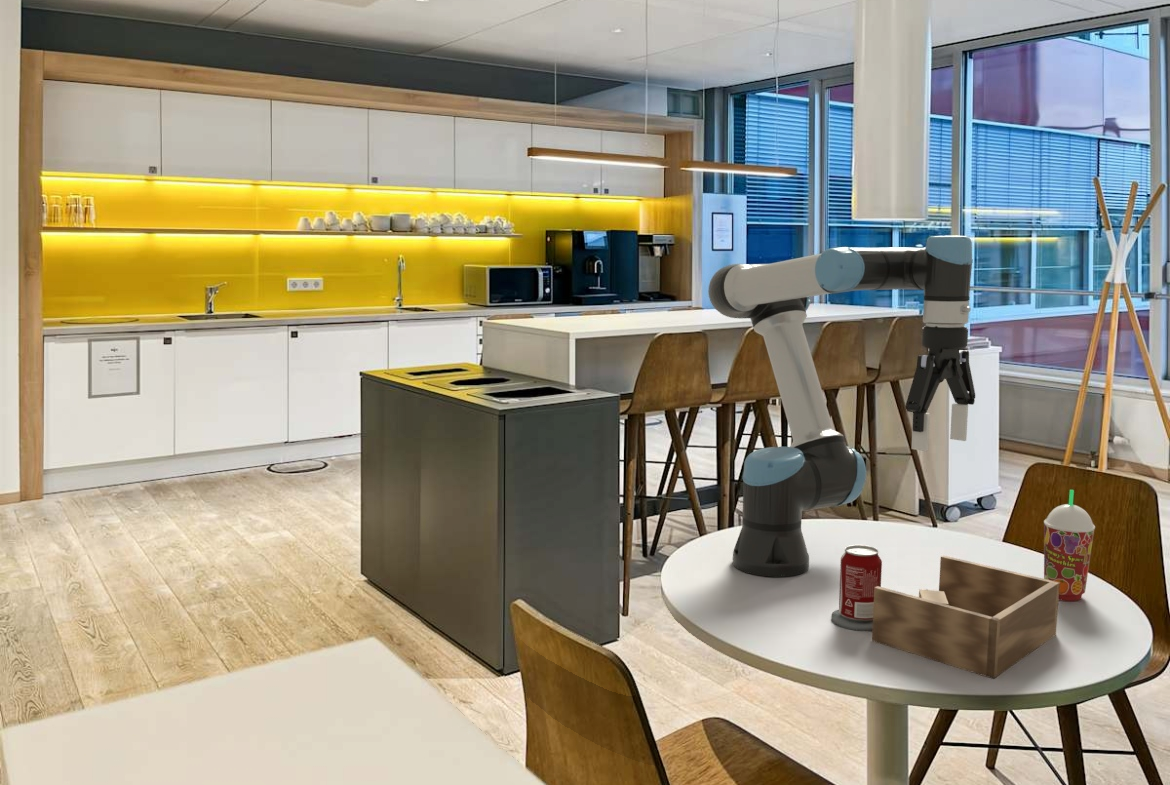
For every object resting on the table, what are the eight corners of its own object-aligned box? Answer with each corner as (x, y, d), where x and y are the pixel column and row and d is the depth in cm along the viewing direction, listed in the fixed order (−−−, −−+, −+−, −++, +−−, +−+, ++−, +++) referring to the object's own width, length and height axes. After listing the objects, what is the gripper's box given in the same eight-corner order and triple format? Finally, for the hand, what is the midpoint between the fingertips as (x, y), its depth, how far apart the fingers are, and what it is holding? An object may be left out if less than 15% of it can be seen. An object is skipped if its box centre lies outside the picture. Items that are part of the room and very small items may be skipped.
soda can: (881, 625, 165) (884, 556, 163) (840, 623, 166) (842, 554, 164) (877, 611, 171) (880, 544, 170) (837, 609, 173) (839, 542, 171)
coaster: (821, 620, 169) (821, 617, 169) (849, 607, 175) (849, 604, 175) (868, 635, 162) (868, 631, 162) (895, 621, 169) (895, 617, 168)
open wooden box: (872, 640, 160) (874, 587, 159) (940, 603, 177) (943, 555, 175) (993, 678, 146) (997, 620, 145) (1055, 634, 163) (1059, 582, 161)
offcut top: (921, 619, 163) (922, 601, 162) (918, 606, 168) (919, 589, 168) (947, 621, 162) (948, 603, 161) (942, 608, 167) (944, 591, 167)
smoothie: (1035, 598, 180) (1042, 491, 177) (1043, 585, 186) (1050, 482, 183) (1086, 607, 175) (1094, 498, 172) (1092, 593, 182) (1100, 488, 179)
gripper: (928, 330, 160) (922, 457, 163) (999, 322, 177) (992, 438, 180) (887, 327, 166) (882, 451, 169) (959, 320, 182) (954, 433, 185)
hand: (939, 444), depth 174 cm, fingers open, 13 cm apart
